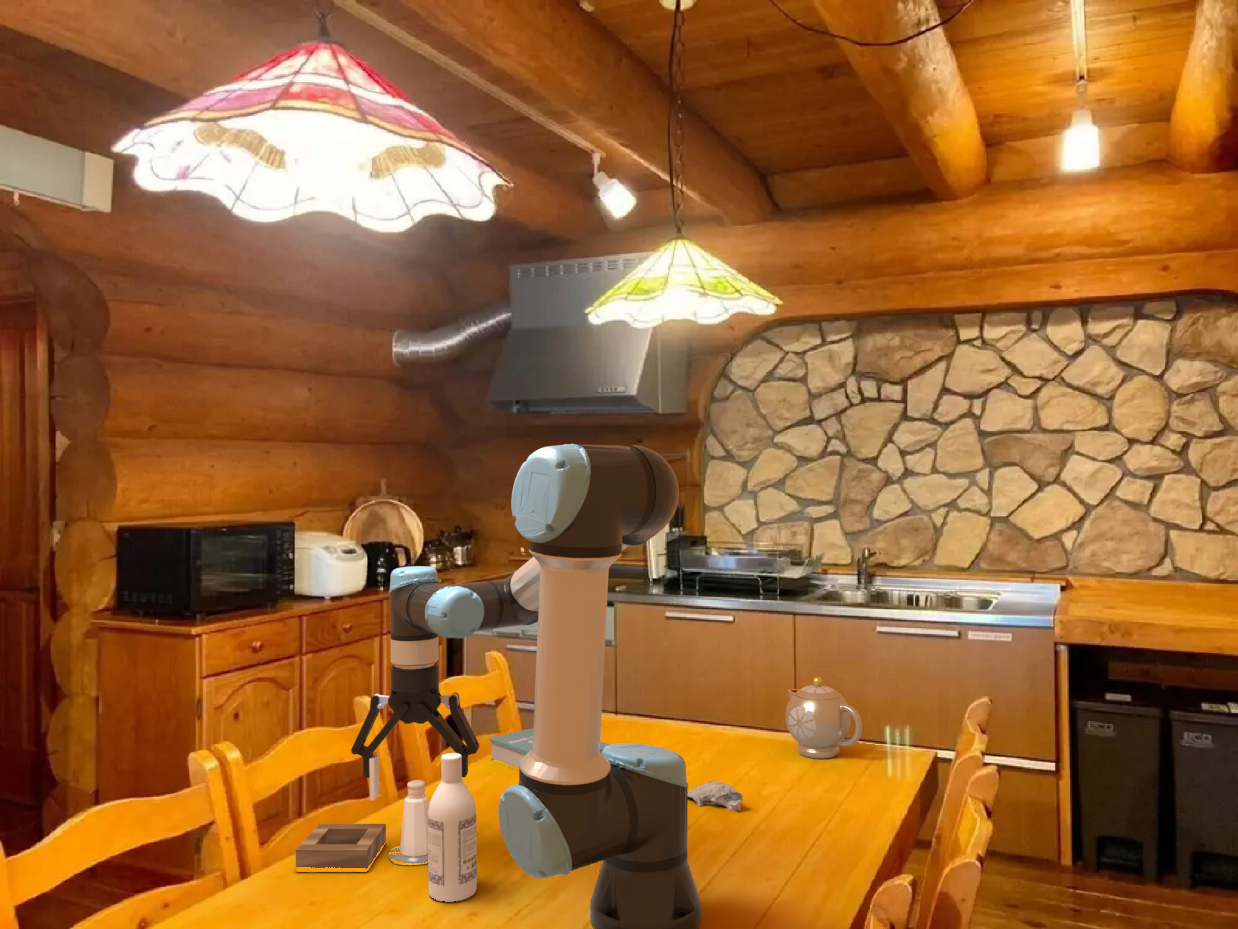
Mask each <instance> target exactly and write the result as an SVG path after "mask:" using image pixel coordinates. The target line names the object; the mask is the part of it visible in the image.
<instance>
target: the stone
mask: <svg viewBox="0 0 1238 929" xmlns="http://www.w3.org/2000/svg"><path fill="white" fill-rule="evenodd" d="M743 797H744V795H743V793H741V792H739V791H737V790H736V789H735V788H734V787H733V786H732V785H729V784H725V783H724V782H720V781H716V780H711V781H708V782H706V783H704V784H702V785H698V786H695V787H694V788H692V789H690V790H689V791H688V798H691V799H693V800H694V801H695V803H696V805H697V807H699V808H700V807H703V806H705V805H708V806H716V805H719V806H724V807H726V808H727V809H728V810H730V811H736V812H737V811H738V812H739V811H742V808H741V803H742V802H743Z"/></svg>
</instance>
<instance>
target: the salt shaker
mask: <svg viewBox="0 0 1238 929" xmlns="http://www.w3.org/2000/svg"><path fill="white" fill-rule="evenodd" d="M425 785H426V782H425V781H424V780H421V779H415V780H414V779H413V780H411V781H409V782H407V796H406V797H405V798H404V801H403V802H404V803H403V812H402V813H403V814H402V820H401V821H402V824H401V833H400V834H401V835H400V836H401V837H400V843H399V844H400V851H401V853H402V855H403V856H408V857H419V856H425V855H428V810H429V804H430V802H429V798H428V796H427V795H425V790H426V789H425V787H426V786H425Z"/></svg>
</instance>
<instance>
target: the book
mask: <svg viewBox="0 0 1238 929" xmlns="http://www.w3.org/2000/svg"><path fill="white" fill-rule="evenodd" d="M488 740H489V743H491V760H498V761H501V762H504V763H506V764H508V765H511V766H513V767H518V768H520V761H521V759H522V758H523V757H524V756H525V755H526V754H527V753H529V752H530V751H531V750H532V747H533V727H532V728H528V729H523V730H519V731H514V732H511V733H507V734H502V735H501V734H500V735H497V736H494V737H489V739H488ZM609 745H611V744H609V743H606V742H604V741H600V752H601V753H602V750H603V749H604V748H605V747H606V746H609ZM491 760H490V761H491Z"/></svg>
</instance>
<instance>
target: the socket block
mask: <svg viewBox="0 0 1238 929" xmlns="http://www.w3.org/2000/svg"><path fill="white" fill-rule="evenodd" d="M385 841H386V842H387V824H386V823H318V824H317V826H316V827H315V828H314V829H313V830H312V831H311V832H310V833H309V834H308V835H307V837H306V838H305V839H304V840H303V841H302V842H301V844H299V846H298V847H297V848H296V849H295V868H296V867H311V868H312V867H313V868H314V867H315V868H325V867H328V868H329V867H330V868H331V867H333V868H334V867H335V868H339V867H340V868H366V869H367V868H368V866H369V865H370V864H371V863H372V861H373V859H374V858H375V857H376V855H377V853H378V852H379V851H380V849H381V847H382V846H383V845H384V843H385Z"/></svg>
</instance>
